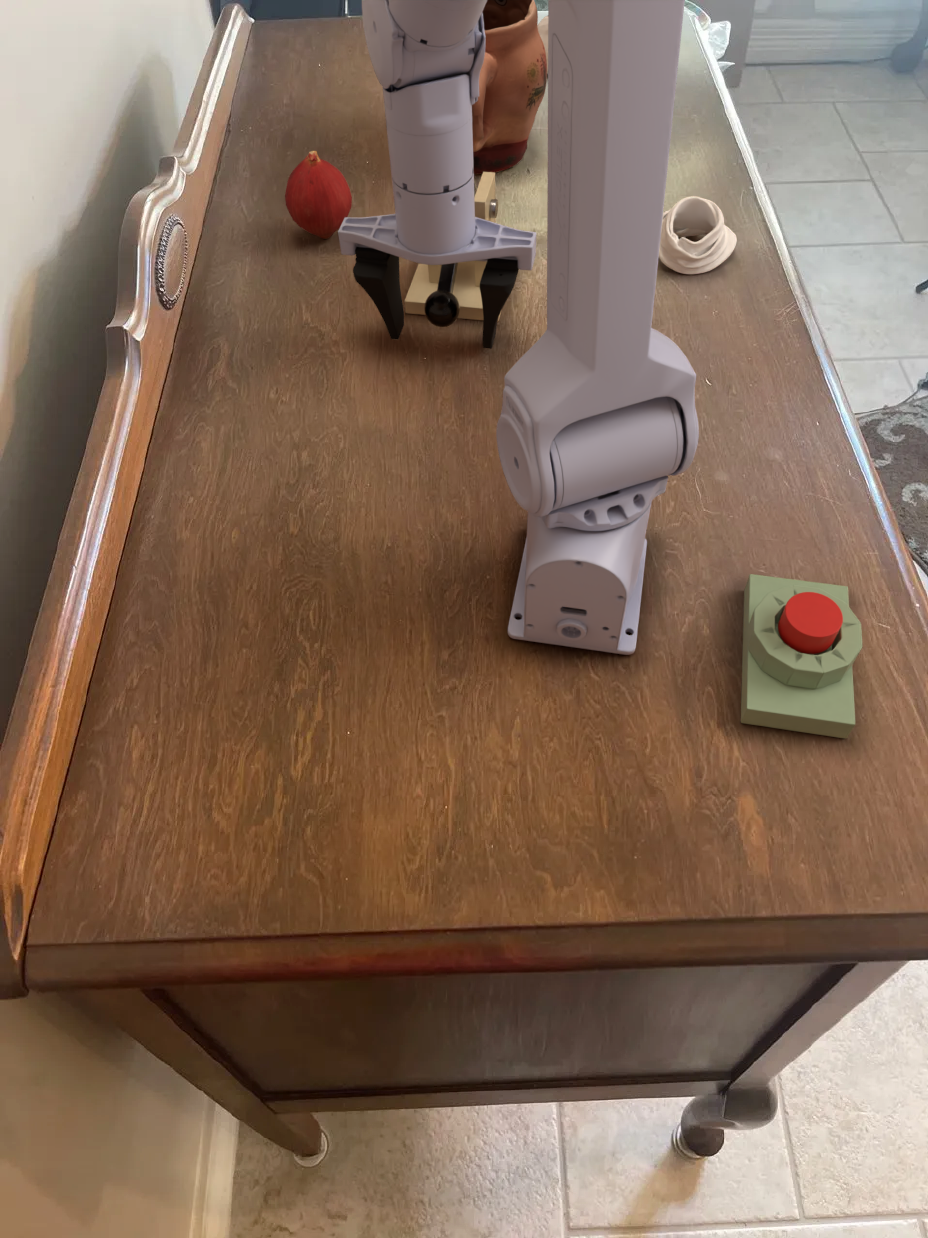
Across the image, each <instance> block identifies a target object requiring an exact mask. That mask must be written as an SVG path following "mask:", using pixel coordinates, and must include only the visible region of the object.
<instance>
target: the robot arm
mask: <svg viewBox="0 0 928 1238" xmlns="http://www.w3.org/2000/svg"><path fill="white" fill-rule="evenodd" d="M547 1H548V2H547V8H548V9H547V16H548V73H547V199H546V201H547V205H546V207H547V211H546V212H547V213H546V214H547V217H546V218H547V220H546V221H547V222H546V223H547V225H546V226H547V227H546V229H547V231H546V232H547V235H546V238H547V239H546V242H547V243H546V256H547V257H546V330H545V331H544V333H542V335H540V337H539V338H538V339H537V341H535V342H534V344H532V345H531V347H530V348H529V349H528V350H527V351H526V352H525V353H524V354H523V355H521V357H519V359H518V360H517V361H516V362H515V363H514V364H513V365H512V366H511V368H510V369H508V371H507V372H506V374H505V375H504V377H503V380H504V381H503V382H504V388H503V389H502V404H501V410H500V415H499V418H498V420H497V422H496V428H495V429H496V432H495V434H496V437H495V438H496V445H497V452H498V458H499V462H500V466H501V469H502V472H503V475H504V478H505V481H506V484H507V486H508V489H509V491H510V493H511V495H512V496H513V498H514V501H516V503H517V504H518V505H519V506H520V508H521V509H523V510H524V511H526V512H527V524H526V538H525V544H524V548H523V553H522V558H521V563H520V568H519V572H518V577H517V581H516V587H515V591H514V596H513V601H512V607H511V611H510V616H509V620H508V625H507V635H508V637H510V639H513V640H519V641H526V642H527V641H528V642H535V643H540V644H541V643H542V644H547V645H555V646H563V647H569V648H577V649H583V650H590V651H597V652H604V653H610V654H611V653H612V654H619V655H625V656H628V655H629V656H630V655H633V654H634V653H635V651H636V648H637V640H638V631H639V621H640V612H641V604H642V603H641V602H642V594H643V584H644V576H645V575H644V574H645V565H646V558H647V557H646V556H647V546H648V540H647V538H646V534H647V529H648V524H649V519H650V513H651V509H652V503H653V501H654V499H655V498H656V497H658V496H660V495H663V494H664V493H666V490H667V486H668V481H669V476H678V475H681V474H684V473H685V472H687V471H688V469H690V467H691V466H692V464H693V462H694V458H695V455H696V453H697V450H698V445H699V438H700V437H699V436H700V429H699V426H700V425H699V418H698V417H699V416H698V412H697V409H696V382H697V373H696V372H695V370H694V368H693V366H692V364H691V362H690V361H689V359H688V357H687V356H686V354H685V353H684V352H683V350H682V349H681V348H680V347H679V346H678V344H677V343H676V342H674V341H673V340H672V339H671V338H670V337H668V336H667V335H666V334H664V333H662V332H661V331H659V330H657V329H655V328H653V327H652V325H653V315H654V307H655V306H654V305H655V295H656V287H657V286H656V285H657V278H658V277H657V276H658V266H659V259H660V258H659V248H660V238H661V228H662V219H663V212H664V207H665V199H666V189H667V178H668V170H669V169H668V168H669V159H670V150H671V149H670V148H671V140H672V130H673V129H672V128H673V121H674V120H673V119H674V112H675V111H674V109H675V99H676V91H677V82H678V81H677V79H678V71H679V70H678V69H679V60H680V51H681V41H682V33H683V32H682V31H683V30H682V29H683V21H684V12H685V11H684V10H685V4H686V3H685V2H686V0H547ZM486 2H487V0H361V15H362V25H363V32H364V39H365V43H366V48H367V51H368V55H369V59H370V62H371V66H372V69H373V72H374V74H375V77H376V78H377V80H378V83H379V84H380V86H381V87H382V96H383V97H382V98H383V105H384V114H385V115H384V117H385V125H386V126H385V127H386V135H387V137H386V138H387V147H388V155H389V166H390V175H391V185H392V195H393V203H394V213H391V214H383V215H382V214H381V215H373V216H362V217H359V216H358V217H353V216H351V217H350V216H348V217H345V218H344V220H343V222H342V224H341V226H340V228H339V229H338V230H337V235H338V241H339V248H340V254H341V255H342V256H355V258H354V259H355V263H354V265H353V268H352V273H353V274H352V275H353V278H354V280H355V282H356V283H357V284H358V285H359V286H360V287H361V288H362V289H363V290H364V292H366V294H367V295H368V296H369V298H370V299H371V300H372V302H373V304H374V305H375V307H376V309H377V310H378V313H379V314H380V317H381V319H382V321H383V322H384V325H385V327H386V330H387V332H388V335H389V338H390V340H396V341H399V340H400V337H401V334H402V331H403V329H404V326H405V308H404V301H403V297H402V290H401V280H400V279H401V276H400V259H404V260H406V261H407V260H408V261H410V262H413V263H417V264H419V263H420V264H426V265H443V264H451V263H459V262H467V261H486V262H487V263H486V266H485V269H484V271H483V274H482V278H481V281H480V292H481V298H482V306H483V320H482V322H483V323H482V340H481V341H482V348H483V349H487V350H491V349H493V347H494V342H495V339H496V336H497V326H498V322H497V321H498V317H499V315H500V312H501V313H502V311H503V308H504V306H505V304H506V303H507V301H508V299H509V297H510V296H511V294H512V291H513V289H514V287H515V285H516V281H517V277H518V274H519V270H520V271H521V270H522V271H532V270H533V267H534V264H535V260H536V256H537V232H536V231H531V230H523V229H519V228H518V229H517V228H514V227H510V226H507V225H503V224H502V223H501V224H500V223H497V222H495V223H494V222H491V221H487V220H484V219H481V218H477V217H475V201H474V183H475V174H474V166H473V130H472V105H473V104H474V103H475V102H477V101H478V97H479V75H480V70H481V68H482V65H483V62H484V56H485V43H486V36H485V32H484V20H483V12H482V11H483V9H484V7H485V4H486ZM501 310H502V311H501ZM500 316H501V315H500ZM516 618H520V619H516ZM627 633H631V634H630V635H629V634H627Z"/></svg>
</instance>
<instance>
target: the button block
mask: <svg viewBox="0 0 928 1238" xmlns="http://www.w3.org/2000/svg"><path fill="white" fill-rule="evenodd" d="M803 592H815V593H819V594H822V595H825V596H827V597H828V598H830V599H832V600H833V601H834V602H835V603H836V604H837V605H838V606H839V608H840V610H841V612H842V615H843V623H842V626H841V628H840V630H839V632H838V634H837V636H836V638H835V640H834V641H833V643H832V645H831V646H830V647H829V648H828V649H827V650H825V651H823V652H820V653H816V654H806V653H802V652H798V651H796V650H794V649H792V648H791V647H789V646H788V645H787V644H786V643H785V642H784V641H783V640H782V638H781V637H780V634H779V631H778V623H779V620H780V618H781V615H782V613H783V611H784V608H785V606H786V604H787V602H788V600H789V599H790V598H791V597H793V596H794V595H796V594H799V593H803ZM849 598H850V597H849V587H848V586H847V585H840V584H831V583H824V582H816V581H809V580H802V579H795V578H784V577H777V576H769V575H762V574H753V573H749V575H748V578H747V581H746V583H745V587H744V590H743V617H742V618H743V620H742V623H743V624H742V657H741V659H742V660H741V694H740V695H741V698H740V723H741V724H745V725H752V726H759V727H766V728H773V729H780V730H786V731H792V732H800V733H806V734H812V735H820V736H824V737H825V736H827V737H832V738H833V737H834V738H838V739H839V738H840V739H845V740H846V739H848V737H849V736H850V734H851V733H852V731H853V729H854V728H855V726H856V708H855V707H856V706H855V691H854V675H853V674H854V672H853V665H854V663H855V661H856V659H857V658H858V657H859V654H860V653H861V651H862V649H863V633H862V632H863V631H862V622H861V621H860V620H859V618H858V617H857V616H856V614H855V613H854V611H853V610H852V608H850V601H849V600H850V599H849Z"/></svg>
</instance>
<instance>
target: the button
mask: <svg viewBox="0 0 928 1238" xmlns="http://www.w3.org/2000/svg"><path fill="white" fill-rule="evenodd" d="M842 623H843V615H842V612H841V610H840V608H839V606H838V605H837V604H836V603H835V602H834V601H833V600H832V599H830V598H828V597H827V596H825V595H822V594H819V593H815V592H803V593H799V594H796V595H794V596H793V597H791V598H790V599H789V600H788V602H787V604H786V606H785V608H784V611H783V613H782V615H781V618H780V620H779V623H778V631H779V634H780V637H781V638H782V640H783V641H784V642H785V643H786V644H787V645H788V646H789V647H791V648H792V649H794V650H796V651H798V652H802V653H806V654H816V653H820V652H823V651H825V650H827V649H828V648H829V647H830V646H831V645H832V643H833V641H834V640H835V638H836V636H837V634H838V632H839V630H840V628H841V626H842Z"/></svg>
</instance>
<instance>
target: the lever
mask: <svg viewBox="0 0 928 1238" xmlns="http://www.w3.org/2000/svg"><path fill="white" fill-rule="evenodd" d="M475 183H476V182H474V197H475V194H476V191H477V188H476V184H475ZM457 266H458V263H451V264H443V265H442V266H441V272H440V277H439V283H438V288H437V291H435V292H433V293H431V294H430V295H429V296H428V298H427V300H426V302H425V306H424V311H425V315H424V316H425V317H426V319H427V320H428V322H429V323H430V324H432V325H433V326H435V327H438V328H446V327H450V326H451V325H452V324H454V323H455V322H456V321H457V319H458V318H457V317H458V315H459V311H460V306H459V302H458V300H457V298H456V297H455V296H454V295H453V289H454V283H455V278H456V272H457Z"/></svg>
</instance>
